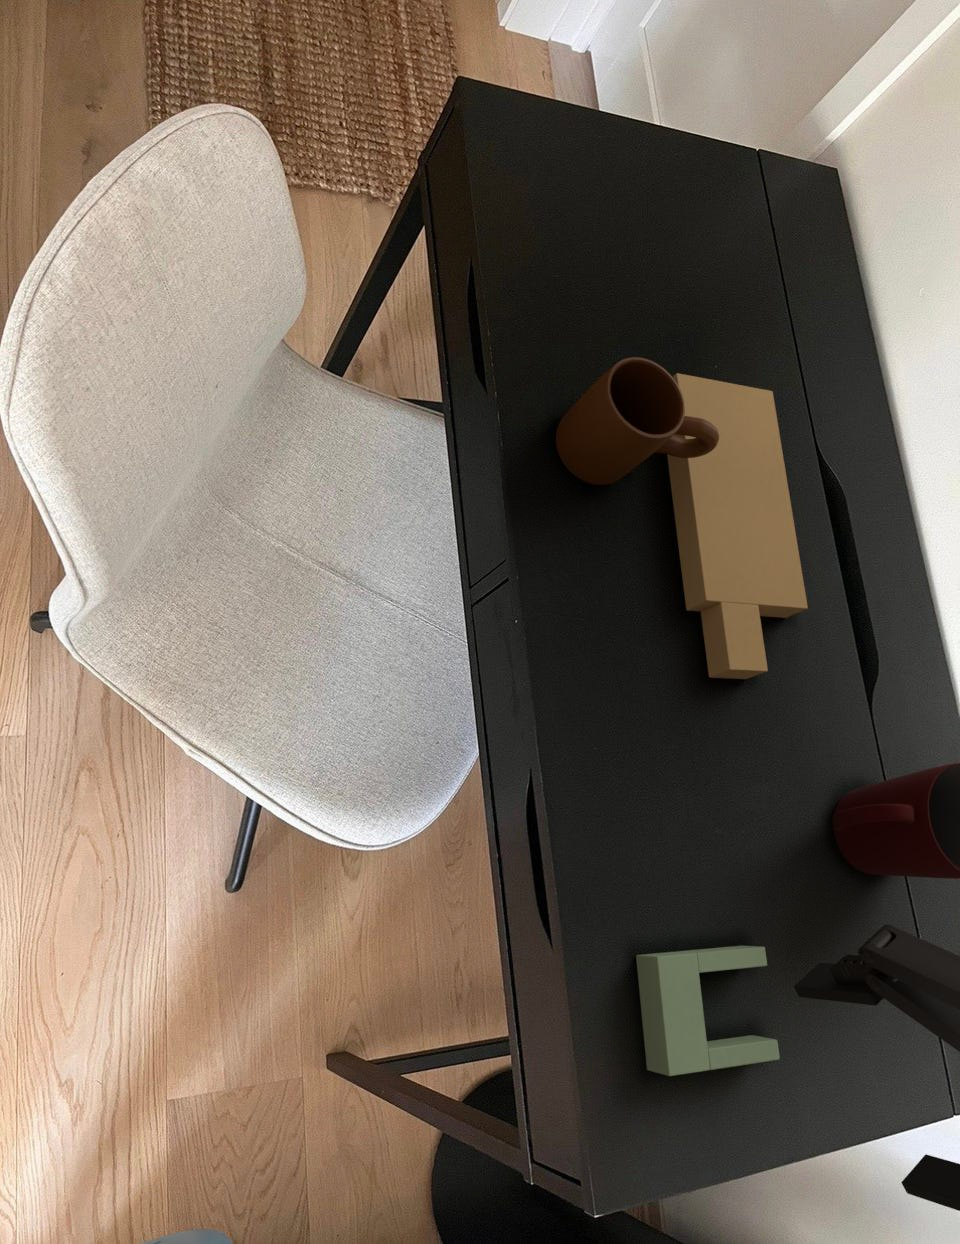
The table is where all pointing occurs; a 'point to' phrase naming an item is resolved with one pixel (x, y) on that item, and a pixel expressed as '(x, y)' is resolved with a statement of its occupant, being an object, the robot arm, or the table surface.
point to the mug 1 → (629, 423)
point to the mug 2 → (903, 825)
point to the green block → (692, 1012)
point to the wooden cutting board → (735, 525)
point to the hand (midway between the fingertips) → (861, 1075)
